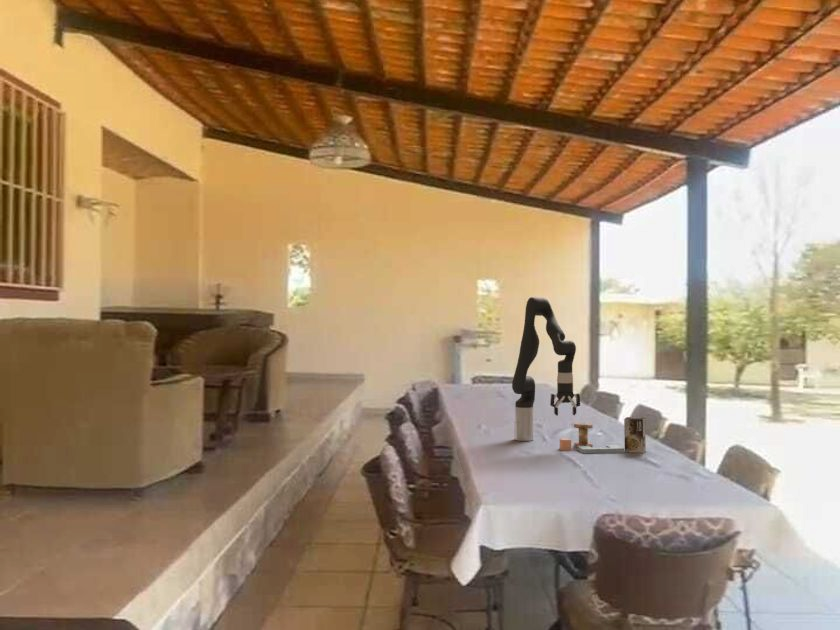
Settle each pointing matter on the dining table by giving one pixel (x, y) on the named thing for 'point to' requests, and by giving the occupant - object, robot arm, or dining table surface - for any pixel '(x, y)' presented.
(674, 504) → the dining table surface
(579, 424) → the knob
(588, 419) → the dining table surface
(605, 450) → the notch board
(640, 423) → the coffee box
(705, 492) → the dining table surface
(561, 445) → the orange block
